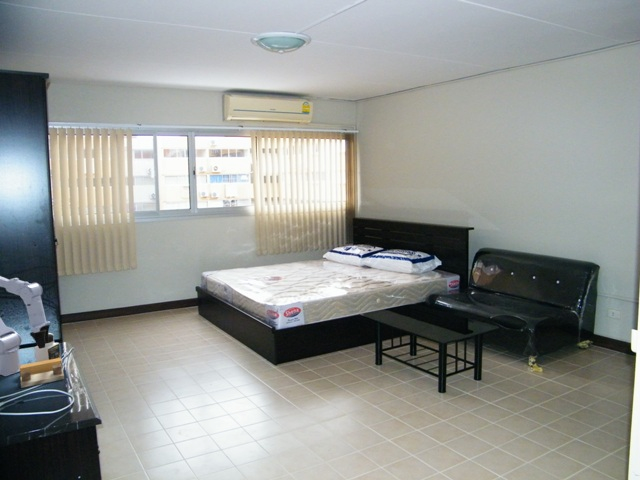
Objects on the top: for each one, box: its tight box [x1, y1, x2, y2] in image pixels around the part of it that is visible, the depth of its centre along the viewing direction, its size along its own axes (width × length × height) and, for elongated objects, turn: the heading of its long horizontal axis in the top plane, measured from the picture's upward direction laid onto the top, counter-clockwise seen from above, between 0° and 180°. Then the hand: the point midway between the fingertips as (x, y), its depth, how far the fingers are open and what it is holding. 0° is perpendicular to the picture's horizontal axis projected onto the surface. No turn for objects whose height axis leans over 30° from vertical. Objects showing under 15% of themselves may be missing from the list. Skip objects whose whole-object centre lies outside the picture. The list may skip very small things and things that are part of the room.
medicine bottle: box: [33, 332, 61, 363], centre depth 227 cm, size 7×7×12 cm
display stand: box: [20, 364, 65, 389], centre depth 207 cm, size 15×8×4 cm, turn 120°
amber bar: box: [19, 357, 63, 378], centre depth 214 cm, size 15×4×4 cm, turn 120°
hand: (44, 345), depth 211 cm, fingers open, 7 cm apart
